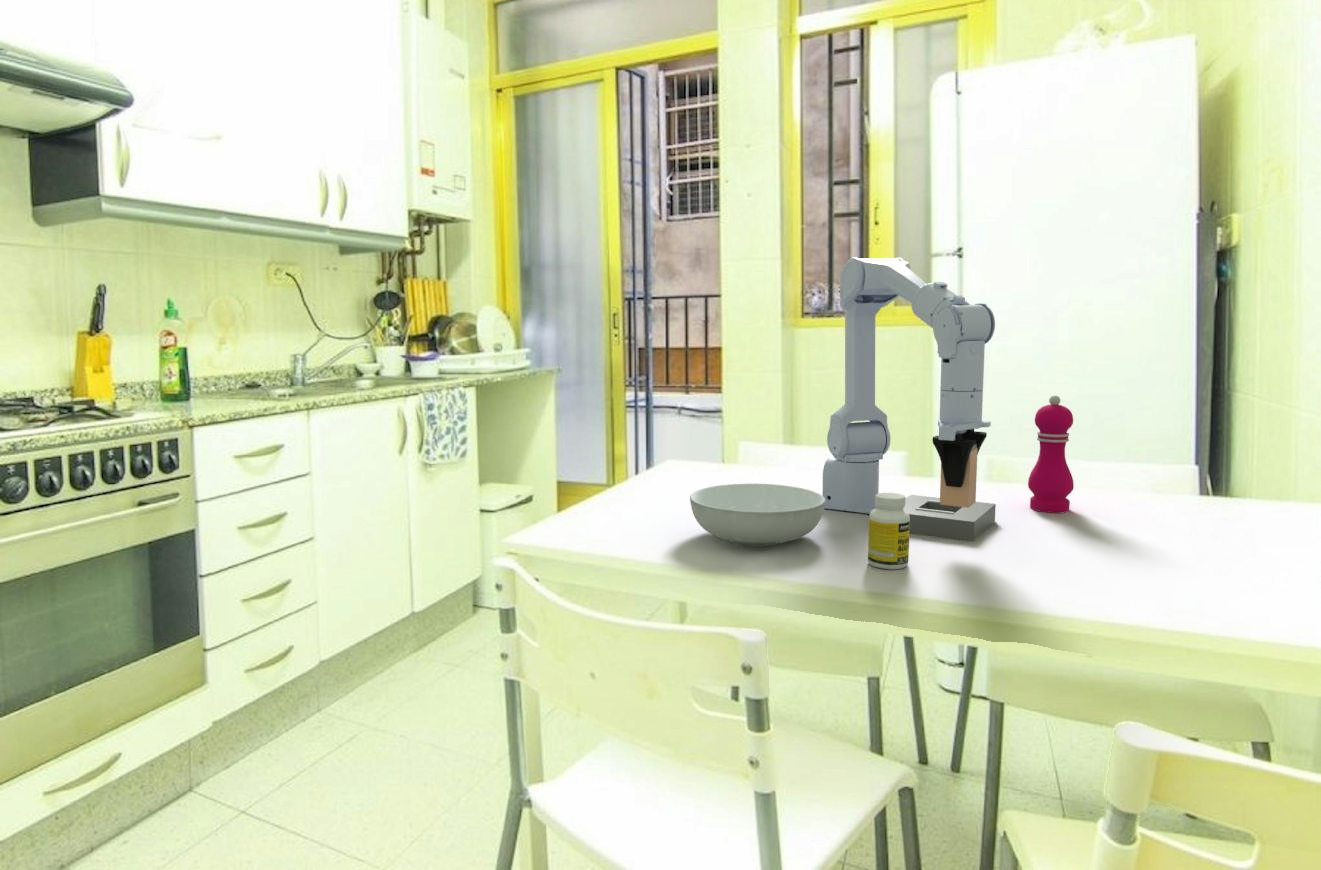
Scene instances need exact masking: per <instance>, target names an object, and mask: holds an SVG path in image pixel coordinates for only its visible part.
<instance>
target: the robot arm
mask: <svg viewBox="0 0 1321 870" xmlns="http://www.w3.org/2000/svg"><path fill="white" fill-rule="evenodd" d="M839 297H840V298H839V299H840V303H839V304H840V306H841V308H842V309H844V384H845V385H844V389H845V390H844V404H843V405H842V406H841V407H840V408H839V409H837V410H836V411H835V412H834V413H832V414H831V415H830V420H829V429H828V430H827V431H828V432H827V436H826V437H827V439H826V442H827V447H828V451H829V452H830V453H831V455H832V456H833V457H828V458H827V459H826V461H825V463H824V465H823V468H822V496H823V497H824V498H825V500H826V502H825V507H824V509H828V510H836V511H843V512H845V511H846V512H852V513H854V512H855V513H859V514H869V515H870V512H871V511H872V510H874V509H876V508H877V506H876V505H875V495H876V494H879V485H880V484H879V482H880V480H879V479H880V460H883V459H884V455H886V454H887V452H888V451H889V448H890V445H891V433H890V430H889V425H888V424H889V423H888V416H887V414H886V413H885V412H884V411H883V410H881V409H880V408H879V407H878V406H877V405H876V316H877V314H878V313H879V312H880V310H881V309H882V308H885V307H886V306H887V307H888V305H890V304H891V303H893V302H894V301H895V300H896V299H897V298H899V297H901V298H903V299H904V300H905V301H908V302H909V303H911V311H912V313H913V314H914V315H915V316H916V317H917V318H918V319H920V320H921V321H923V323H925V324H926V325H928V327H930V328H932V332H933V336H934V339H935V341H936V345H937V354H938V358H941V361H940V363H941V364H940V390H939V397H940V398H939V419H938V420H937V426H938V435H935V436H932V444H933V447H935V449H936V452H937V453H938V454H937V455H938V458H939V460H940V465H941V464H942V469H943V474H944V479H945V483H946V486H952V487H962V485H963V482H964V478H965V472H966V466H967V462H968V458H969V455H970V452H971V450H972V448H973V446H974V444H977V448H978V449H977V456H978V454H979V452H980V449H981V447H982V445H983V444H984V442H985V440H986V438H987V435H988V433H987V431H986V432H985V431H977V430H978V429H981V428H990V427H991V425H992V424H991V421H989V420H983V402H984V399H983V398H984V377H985V376H984V375H985V373H984V372H985V370H984V369H985V346H986V344H988V343H989V342H990V340H992V338H993V336H994V333H995V328H996V320H995V315H994V312H993V310H992V309H991V308H990V307H988V305H987V304H986V303H982V302H981V303H975V304H970V303H969V302H967V301H966V298H965V297H964V296H963V295H957V294H956V293H954V292H952V291H951V290H950V289H948V283H945V281H934V282H930V283H927V282H925V281H924V280H923V279H921V278H920V277H919V276H918V275H917V274H916V273H915V272H913V271H912V269H911V265H910V262H909V261H905V259H904V258H902V257H894V258H858V257H851V258H849V259H847V261H846V263H845V264H844V266H843V268H842V270H841V271H840V275H839ZM976 429H977V430H976ZM975 430H976V431H975Z"/></svg>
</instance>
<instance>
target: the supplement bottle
mask: <svg viewBox="0 0 1321 870" xmlns="http://www.w3.org/2000/svg"><path fill="white" fill-rule="evenodd" d="M905 498H906V495H905V494H901V493H896V492H880V493H879V492H878V494H876V495H875V505H876V506H877V508H876V509H874V510H872V511H871V512H870V514H869V515H868V516H869V517H868V518H869V519H868V545H867V546H868V547H867V548H868V549H867V550H868V551H867V562H868V564H869V565H871V567H875V568H876V569H883V570H901V569H904V568H906V567H907V566H908V565H909V553H910V552H909V550H910V533H909V530H910V516H909V514H908V513H907V512H906V511H904V510H903V507H905Z"/></svg>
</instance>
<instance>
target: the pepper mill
mask: <svg viewBox="0 0 1321 870" xmlns="http://www.w3.org/2000/svg"><path fill="white" fill-rule="evenodd" d="M1048 400H1049V401H1048V402H1049V404H1046V405H1043V406H1042V407H1040V408H1039V409H1038V410H1037V411H1036V412H1035V416H1034V424H1035V425H1036V427H1037V428H1038V430H1039V431H1037V434H1036V435H1037V438H1036V439H1037V441H1039V454H1038V459H1036V460H1037V461H1036V463H1035V465H1034V467H1032V470H1031V472H1030V474H1029V477H1028V481H1027V487H1028V489H1029V491H1030V492H1031V493H1032V494H1033V496H1031V497H1030V499H1029V500H1030V501H1029V507H1030V509H1032V510H1033V511H1037V512H1042V513H1051V514H1052V513H1053V514H1062V513H1067V512H1069V511H1070V506H1071V505H1070V504H1071V503H1070V500H1069V498H1067V497H1068V496H1069V495H1070V494H1072V492H1073V490H1074V479H1073V475H1072V472H1071V470H1070V468H1069V466H1068V465H1069V464H1068V463H1067V458H1066V446H1067V445H1066V444H1067V442H1069V441H1070V439H1069V436H1070V433H1069V432H1068V431H1069V430H1070V429H1071V428H1072V426H1073V425H1074V415H1073V413H1072V411H1071V409H1069V408H1068V407H1066V406H1065V405H1061V404H1060V403H1061V398H1060V396H1058V395H1052V396H1050V398H1049V399H1048Z"/></svg>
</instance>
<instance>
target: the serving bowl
mask: <svg viewBox="0 0 1321 870" xmlns="http://www.w3.org/2000/svg"><path fill="white" fill-rule="evenodd" d="M689 501H690V507H691V511H692V514H693V517H694V518H695V521H696V523H698V525H699V526H700V527H701V528H702V529H703V530H705V531H706V532H707V533H709V534H711V535H713V536H714V537H717V538H719V539H721V540H724V541H725V540H726V541H729V542H733V543H735V544H740V545H744V546H750V547H751V546H754V547H755V546H756V547H761V546H765V547H766V546H773V545H778V544H782V543H786V542H791V541H794V540H797V539H800V538H802V537H803V538H804V537H805V536H806V535H808V534H809V533H811V532H812V531H813V530H815V528H816V527H817V526H818V525H819V523H820V522H821V519H822V518H823V515H824V511H825V508H824V507H825V502H826V500H825V498H824V497H823V494H820V493H818V492H816V491H814V490H811V489H807V488H803V487H797V486H792V485H782V484H772V483H732V484H731V483H730V484H728V483H727V484H722V485H721V484H719V485H714V486H713V485H712V486H708V487H705V488H704V487H703V488H701V489H699V490H696V491H694V492H692V493H691V494H690V496H689Z"/></svg>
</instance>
